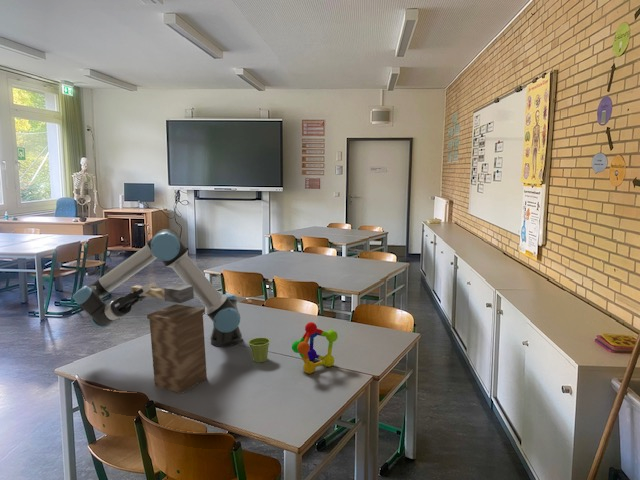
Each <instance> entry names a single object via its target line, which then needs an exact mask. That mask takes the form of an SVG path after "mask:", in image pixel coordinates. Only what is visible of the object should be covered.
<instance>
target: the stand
mask: <svg viewBox="0 0 640 480" xmlns="http://www.w3.org/2000/svg"><path fill="white" fill-rule="evenodd" d="M203 313H206V310H205V308H203V307H197V306H191V305H182V304H178V303H175V304H173V305H170V306H167V307H165V308H162V309H159V310H157V311H154V312H151V313H149V314H147V316H146V317H147V319H148V320H149V329H150V341H151V354H152V355H151V356H152V366H153V367H152V368H153V379H154V380H153V381H154V387H156V388H160V389H164V390H168V391H173V392H176V393H178V394H179V393H180V394H183V392H184V393H185V392H187V391H188V390H190V389H192V388H193V387H195V386H196V385H198V384H200V383H201V382H203V381H204V380H206V379H207V378H208V377H207V376H208V375H207V373H208V372H207V361H206V359H207V358H206V347H205V346H206V345H205V343H206V341H205V329H204V328H205V327H204V314H203ZM199 382H200V383H199ZM197 383H198V384H197ZM194 385H195V386H194ZM192 386H193V387H192ZM191 387H192V388H191ZM189 388H190V389H189ZM186 390H187V391H186Z"/></svg>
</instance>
